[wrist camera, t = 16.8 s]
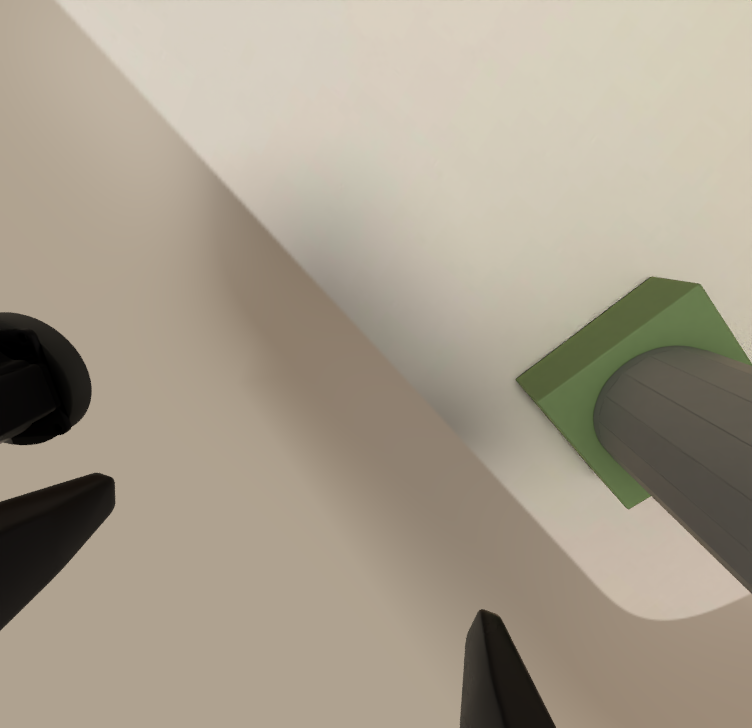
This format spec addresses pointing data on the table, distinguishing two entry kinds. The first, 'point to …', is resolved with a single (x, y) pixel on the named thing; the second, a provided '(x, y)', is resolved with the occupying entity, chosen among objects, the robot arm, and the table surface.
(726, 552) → the flask
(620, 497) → the green block
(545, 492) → the table surface
